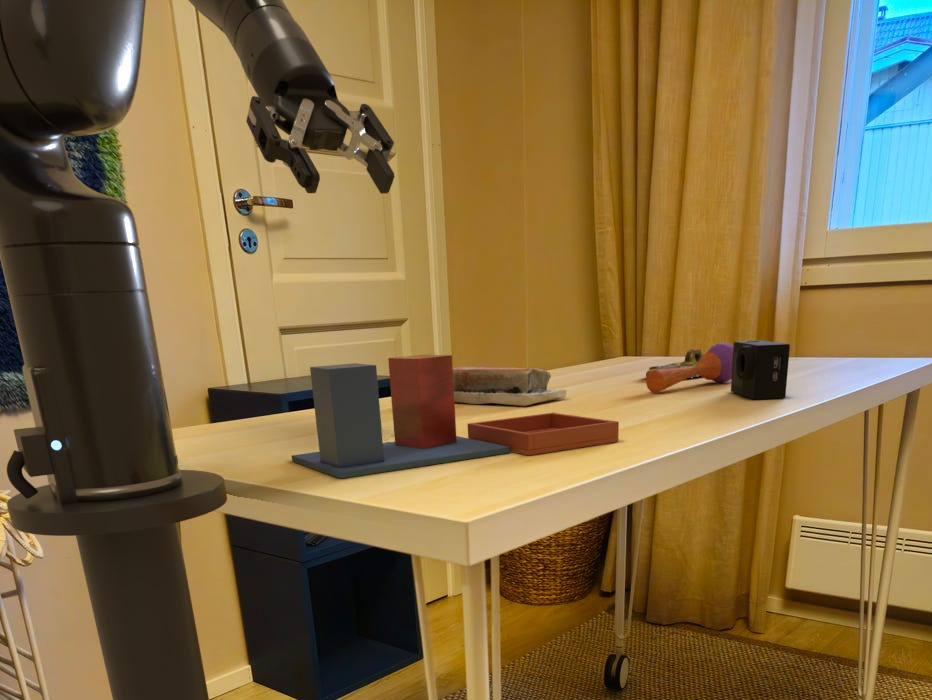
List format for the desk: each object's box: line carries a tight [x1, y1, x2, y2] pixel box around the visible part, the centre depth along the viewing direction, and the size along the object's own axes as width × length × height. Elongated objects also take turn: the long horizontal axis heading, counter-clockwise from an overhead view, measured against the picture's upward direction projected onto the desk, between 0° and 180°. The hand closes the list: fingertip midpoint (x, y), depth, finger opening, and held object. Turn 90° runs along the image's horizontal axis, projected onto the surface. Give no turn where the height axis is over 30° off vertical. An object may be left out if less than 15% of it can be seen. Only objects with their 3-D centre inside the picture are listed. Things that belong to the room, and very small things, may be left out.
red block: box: [387, 354, 457, 449], centre depth 86 cm, size 4×4×8 cm
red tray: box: [467, 412, 620, 456], centre depth 88 cm, size 11×11×2 cm
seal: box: [645, 348, 704, 379], centre depth 148 cm, size 9×5×15 cm
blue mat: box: [291, 435, 511, 479], centre depth 84 cm, size 18×12×1 cm, turn 122°
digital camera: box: [730, 340, 791, 400], centre depth 117 cm, size 10×5×7 cm, turn 2°
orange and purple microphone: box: [645, 342, 734, 394], centre depth 132 cm, size 6×6×20 cm
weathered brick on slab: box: [453, 366, 567, 407], centre depth 125 cm, size 18×5×10 cm
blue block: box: [309, 362, 384, 468], centre depth 78 cm, size 4×4×8 cm
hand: (352, 186), depth 86 cm, fingers open, 8 cm apart
